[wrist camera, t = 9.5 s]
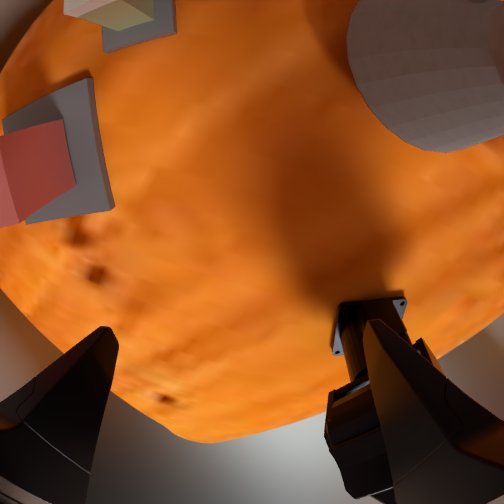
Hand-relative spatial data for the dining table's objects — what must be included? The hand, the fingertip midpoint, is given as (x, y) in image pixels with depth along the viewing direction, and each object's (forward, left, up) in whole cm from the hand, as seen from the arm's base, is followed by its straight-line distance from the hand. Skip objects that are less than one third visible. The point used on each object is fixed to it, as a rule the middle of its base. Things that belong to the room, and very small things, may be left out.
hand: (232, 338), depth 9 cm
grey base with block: (+15, +6, -12) cm, 20 cm away
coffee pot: (+14, -9, -12) cm, 21 cm away
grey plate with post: (+6, +15, -12) cm, 20 cm away
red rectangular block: (+6, +15, -11) cm, 20 cm away
